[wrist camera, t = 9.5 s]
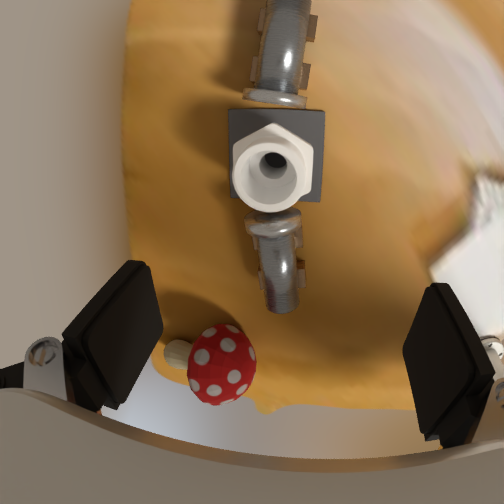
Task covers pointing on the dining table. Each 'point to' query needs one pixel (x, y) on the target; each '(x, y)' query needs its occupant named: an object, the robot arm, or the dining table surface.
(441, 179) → the dining table surface
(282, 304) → the shaft
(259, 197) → the pipe fitting
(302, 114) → the seat pad
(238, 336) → the decorative mushroom
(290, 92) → the shaft
